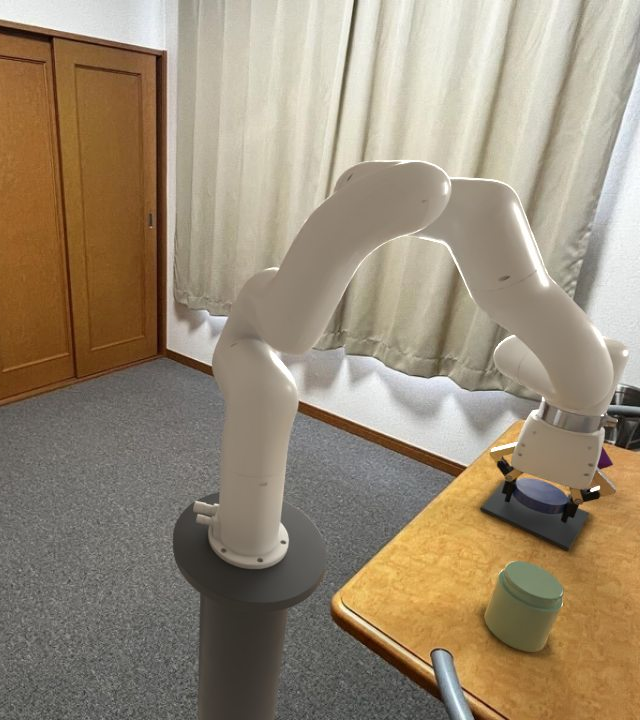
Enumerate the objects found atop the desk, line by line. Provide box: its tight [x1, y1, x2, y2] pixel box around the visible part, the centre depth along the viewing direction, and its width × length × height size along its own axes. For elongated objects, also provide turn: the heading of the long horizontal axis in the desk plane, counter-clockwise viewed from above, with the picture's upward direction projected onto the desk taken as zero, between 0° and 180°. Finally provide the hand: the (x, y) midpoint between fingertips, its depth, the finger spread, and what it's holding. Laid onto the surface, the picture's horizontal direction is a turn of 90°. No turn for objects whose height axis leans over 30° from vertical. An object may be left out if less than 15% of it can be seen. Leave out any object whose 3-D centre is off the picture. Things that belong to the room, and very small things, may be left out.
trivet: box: [480, 479, 590, 551], centre depth 80 cm, size 12×12×1 cm
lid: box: [513, 477, 568, 514], centre depth 78 cm, size 7×7×2 cm
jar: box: [483, 560, 565, 653], centre depth 59 cm, size 6×6×9 cm
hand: (535, 507), depth 79 cm, fingers closed on lid, 7 cm apart
